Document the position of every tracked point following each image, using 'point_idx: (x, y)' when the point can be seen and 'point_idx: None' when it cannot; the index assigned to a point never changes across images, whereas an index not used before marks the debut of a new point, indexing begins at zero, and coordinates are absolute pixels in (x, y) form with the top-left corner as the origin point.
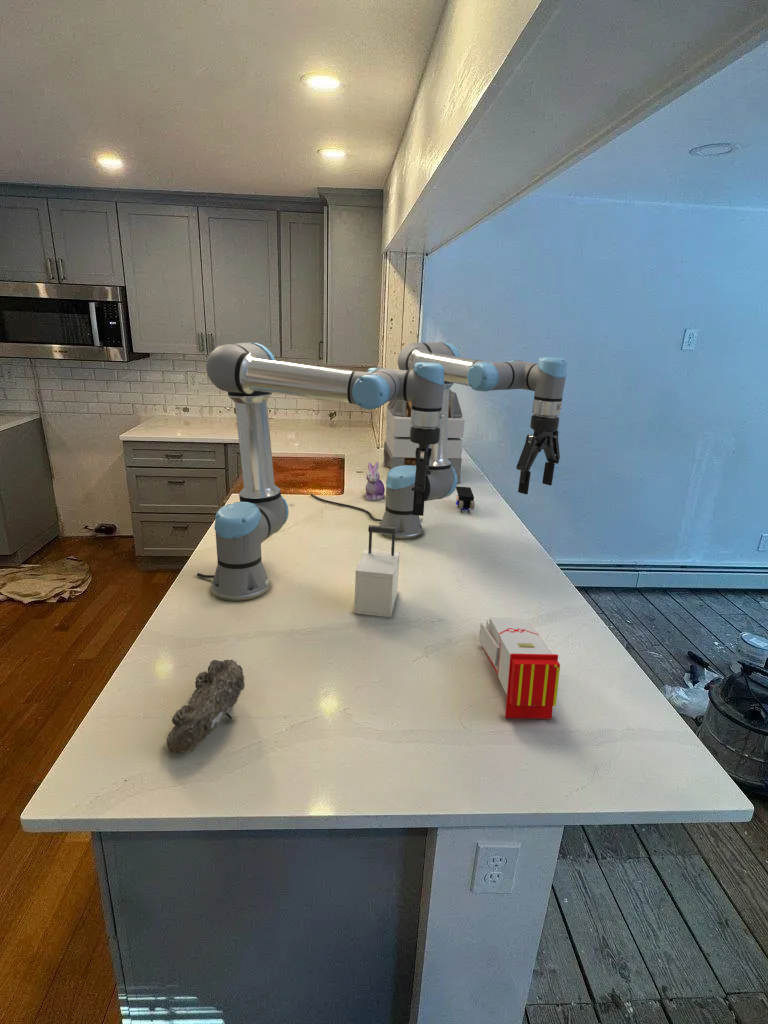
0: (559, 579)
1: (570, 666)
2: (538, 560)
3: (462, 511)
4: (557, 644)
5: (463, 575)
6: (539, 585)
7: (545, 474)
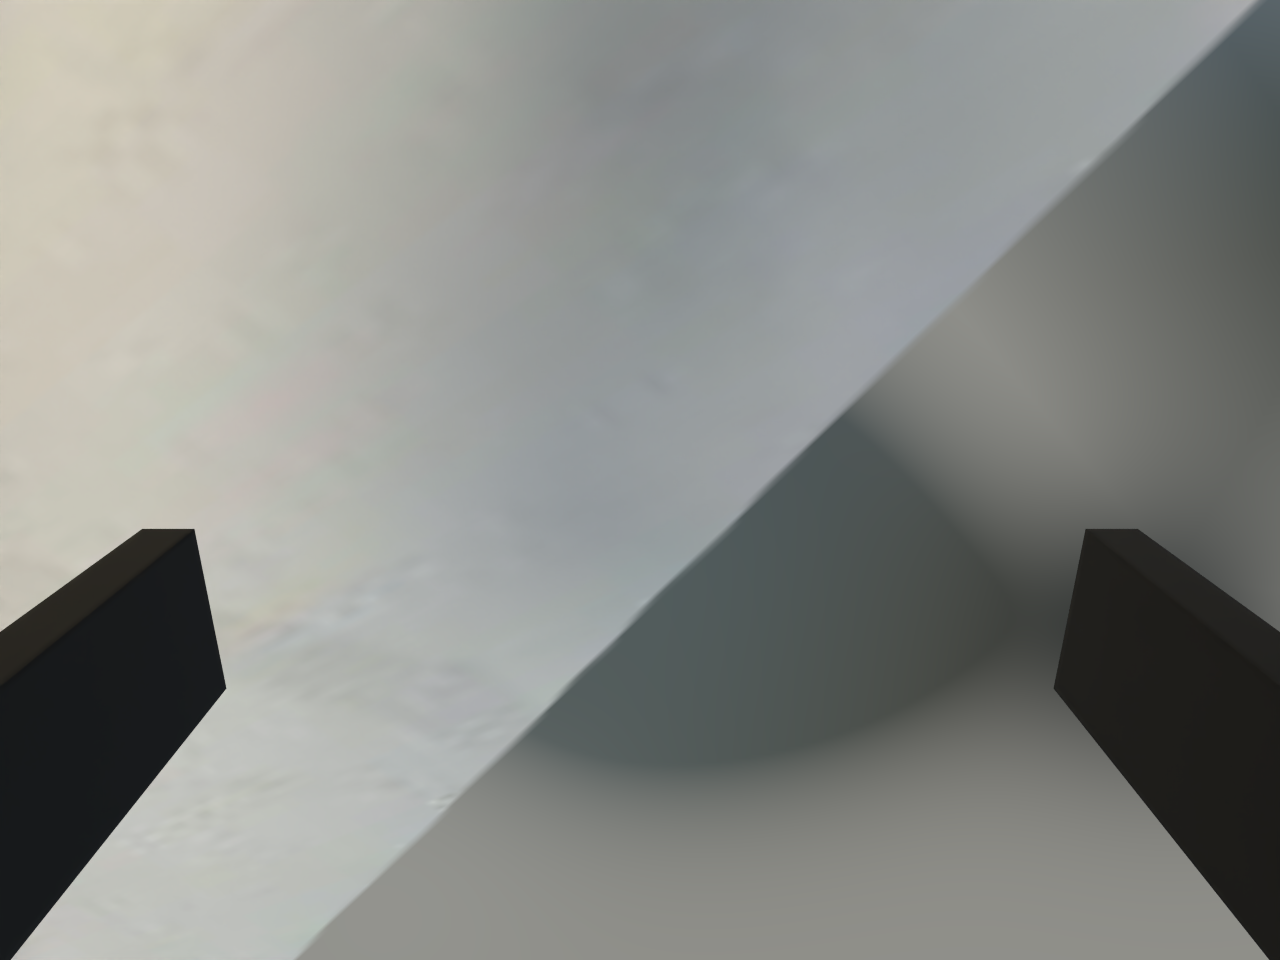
0: (751, 502)
1: None
2: (931, 266)
3: None
4: None
5: (284, 25)
6: (582, 463)
7: (1201, 683)
